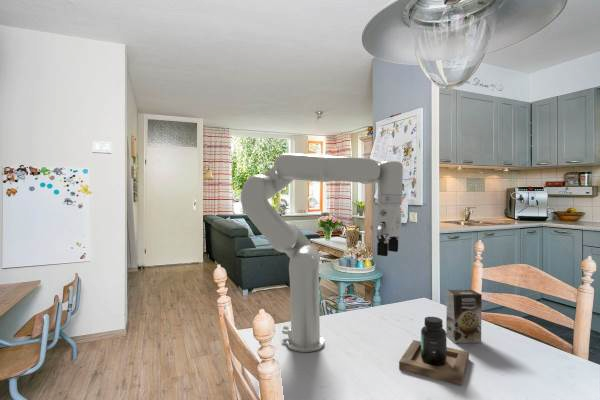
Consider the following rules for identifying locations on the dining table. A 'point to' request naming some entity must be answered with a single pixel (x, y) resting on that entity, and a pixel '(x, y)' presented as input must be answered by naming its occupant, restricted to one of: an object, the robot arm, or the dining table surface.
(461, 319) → the coffee box
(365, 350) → the dining table surface
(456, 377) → the wooden tray
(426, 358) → the supplement bottle
